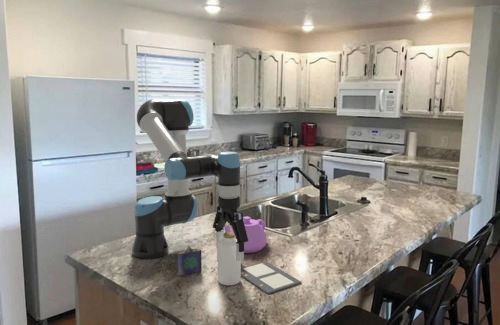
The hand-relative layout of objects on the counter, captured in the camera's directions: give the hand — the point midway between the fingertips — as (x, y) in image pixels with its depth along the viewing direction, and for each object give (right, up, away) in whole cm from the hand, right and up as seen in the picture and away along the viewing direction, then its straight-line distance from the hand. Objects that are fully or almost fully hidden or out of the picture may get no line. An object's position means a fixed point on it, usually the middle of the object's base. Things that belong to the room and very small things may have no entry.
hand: (229, 254), depth 148 cm
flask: (-16, -9, +9) cm, 20 cm away
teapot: (+5, -5, +35) cm, 36 cm away
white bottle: (0, -11, +2) cm, 11 cm away
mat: (+13, -10, +6) cm, 18 cm away
